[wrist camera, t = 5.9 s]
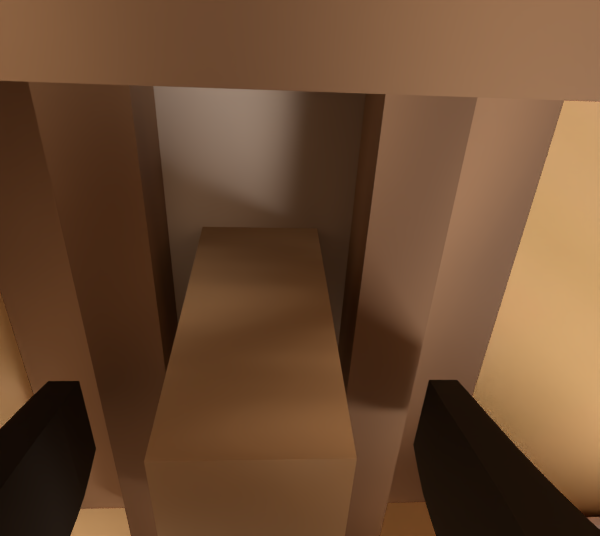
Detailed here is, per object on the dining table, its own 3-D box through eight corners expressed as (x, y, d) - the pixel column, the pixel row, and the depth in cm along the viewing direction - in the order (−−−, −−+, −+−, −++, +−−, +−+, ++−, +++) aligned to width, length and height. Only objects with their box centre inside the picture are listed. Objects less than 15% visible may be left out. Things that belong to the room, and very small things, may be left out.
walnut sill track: (583, -42, 9) (841, -42, 5) (432, 480, 18) (484, 647, 13) (-90, -80, 9) (-437, -114, 4) (78, 486, 17) (13, 666, 12)
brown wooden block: (319, 228, 11) (360, 458, 6) (304, 441, 15) (322, 696, 10) (200, 226, 11) (140, 461, 6) (215, 442, 15) (185, 702, 10)
